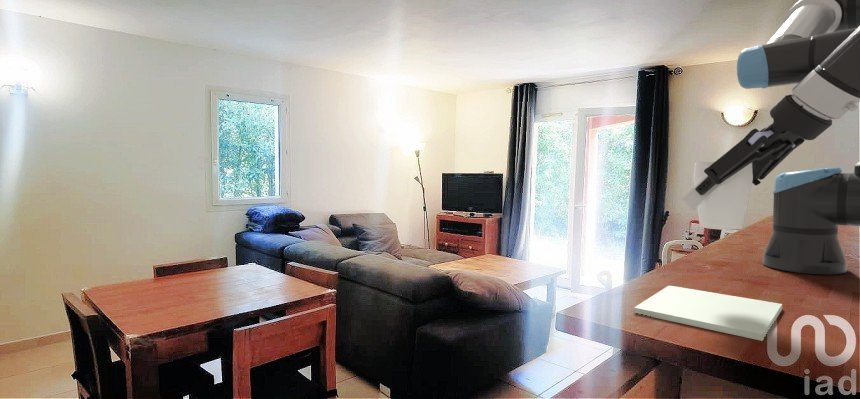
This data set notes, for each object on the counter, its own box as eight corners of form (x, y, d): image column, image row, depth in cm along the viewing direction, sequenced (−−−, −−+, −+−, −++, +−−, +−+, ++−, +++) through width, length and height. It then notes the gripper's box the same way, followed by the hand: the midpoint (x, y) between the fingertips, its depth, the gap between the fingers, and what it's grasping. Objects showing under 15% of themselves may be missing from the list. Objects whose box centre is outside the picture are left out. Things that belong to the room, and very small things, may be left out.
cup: (761, 231, 75) (764, 161, 74) (703, 230, 77) (705, 162, 76) (736, 224, 84) (738, 161, 83) (684, 224, 86) (686, 162, 85)
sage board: (668, 290, 88) (669, 285, 88) (782, 309, 76) (782, 304, 76) (634, 313, 76) (634, 307, 76) (762, 341, 63) (762, 334, 63)
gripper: (799, 119, 60) (682, 222, 75) (861, 125, 71) (748, 214, 86) (757, 86, 65) (654, 190, 80) (821, 96, 75) (720, 186, 90)
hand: (703, 203), depth 83 cm, fingers closed on cup, 9 cm apart
